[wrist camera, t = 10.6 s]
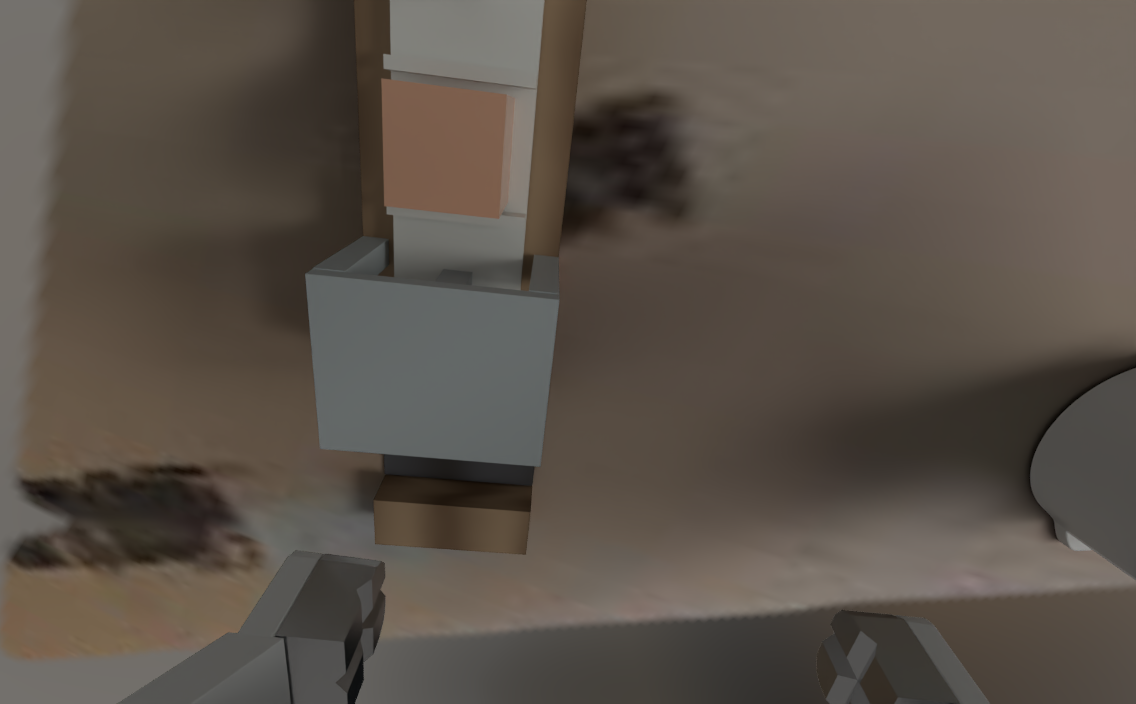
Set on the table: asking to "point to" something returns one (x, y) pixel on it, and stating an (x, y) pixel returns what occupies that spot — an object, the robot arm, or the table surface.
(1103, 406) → the robot arm
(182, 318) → the table surface
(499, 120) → the block
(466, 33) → the sled
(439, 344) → the tunnel
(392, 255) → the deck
